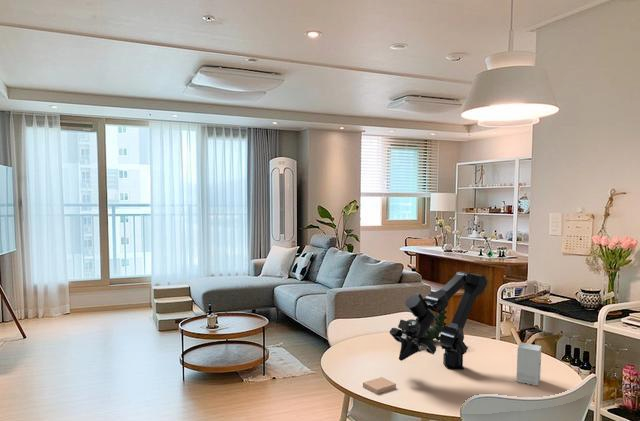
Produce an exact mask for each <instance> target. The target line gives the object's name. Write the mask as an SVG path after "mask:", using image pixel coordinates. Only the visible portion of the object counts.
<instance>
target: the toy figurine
mask: <svg viewBox="0 0 640 421" xmlns="http://www.w3.org/2000/svg"><path fill="white" fill-rule="evenodd" d="M446 314H448V311H447V310H446V309H445V310H444V311H443V312H442V313H438V312H437V314H436V315H437V318H438V322H434V323H433V324H432V325H433V326H432V327H430V328H429V329H428V332H429V334H428V335H426V334H425V336H424V338H427V339H430V340H431V341H432V342H433V344H434V343H435V341H434V340H436V341H438V342H440V339H439V338H440V333H441V331H442V329H443V326H444V325H446V326H447V323H446V322H445V320H447V319H448V317H447V316H446ZM415 320H416V319H407V320H406V321H408V322H411V321H415ZM398 326H399V324H398V325H397V327H398ZM399 329H400V330H401V331H402V332H403V333H404V334H406V333H405V332H404V329H401V328H399Z"/></svg>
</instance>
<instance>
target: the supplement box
mask: <svg viewBox="0 0 640 421" xmlns="http://www.w3.org/2000/svg"><path fill="white" fill-rule="evenodd" d="M516 352H517V355H516V356H517V358H516V382H517V383H520V384H525V383H527V384H526V385H530V384H532V385H531V386H535V385H538V386H539V384H540V381H541V372H542V370H541V368H542V367H541V366H542V346H541V345H538V344H533V343H532V344H530V343H524V342H520V343H519V345H518V346H517V351H516Z"/></svg>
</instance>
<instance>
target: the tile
mask: <svg viewBox="0 0 640 421" xmlns="http://www.w3.org/2000/svg"><path fill="white" fill-rule="evenodd" d="M362 387H363V388H364V389H366V390H368V391H370V392H372V393H373V394H376V395H378V394H381V392H382V393H384V391H385V392H388V391H390V390H393V389H396V388H397V383H395V382H393V381H391V380H389V379H386V378H385V377H382V376H380V377H378V378H373V379H370V380H367V381H364V382H362Z"/></svg>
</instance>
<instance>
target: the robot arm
mask: <svg viewBox="0 0 640 421" xmlns="http://www.w3.org/2000/svg"><path fill="white" fill-rule="evenodd" d="M487 285H488V280H487V277H486V276H485V275H484V274H477V273H469V272H466V271H457V272H456V273H455V275H454V276H453V277H452V278H451V279H450V280H449V281H447V282H446V284H444V285H443V286H442V287H441V288H440V289H439V290H437V291H433V292H430V293H429V294H427V295H426V296H425V297H423V296H422V295H421V293H415V294H414V295H411V296H410V297H408V298H407V299H406V300H405V303H404V304H405V306H406V308H407V309H408V310H409V312H410V313H411V314H412V315H413V316H414V317H416V318H415V319H414V320H415V321H411V322H408V321H407V320H405V319H400V321H399V322H398V325H399V326H398V325H397V327H392V328H391V329H390V330H389V331H388V332H389V334H390V336H391V337H393V339H394V340H395V341H396V342H398V343H401V345H400V350H399V357H398V360H399V361H400V362H402V361H404V360H406V359H407V358H409V357H411V356H413V355H415V354H417V353H421V352H422V350H421V349H422V347H423V348H426V352H427V354H431V355H435V353H436V351H437V346H436V344H434V343H433V342H432V341H431V340H430V339H427V338H424V336H425V334H426V335H428V334H429V332H428V329H429V328H431V326H432V325H433V324H434V323H435V322H438V318H437V314H438V313H442V312H443V311H444V310H445V311H446V308H447V307H448V305H449V301H450V299H451V298H452V297H454V296H455V294H457V293H458V292H459V290H461V289H462V287H463V291H464V292H463V294H462V296H461V299H460V301H459V304H458V306H457V308H456V310H455V313H454V315H453V317H452V320H451V322H450V323H449V324H448V325H447V324H446V325H444V326H443V329H442V331H441V333H439V337H440V338H439V339H440V340H439V342H440V347H441V349H442V350H444V352H443V357H442V359H443V360H442V363H443V365H444V366H445V367H446V369H447V370H464V369H465V367H464V365H463V364H464V355H465V354H466V353H467V352H468V345H466V343H465V342H464V339H465V334H464V328H465V325H466V323H467V320H468V318H469V316H470V314H471V311H472V309H473V307H474V303H475V301H476V299H477V298H478V296H480V295H481V294H483V293H484V291H485V290H486V287H487ZM434 312H435V313H437V314H435V313H434ZM433 322H434V323H433ZM400 328H401V329H400ZM402 329H404V332H405V333H406V334H404V333H403V332H402Z"/></svg>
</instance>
